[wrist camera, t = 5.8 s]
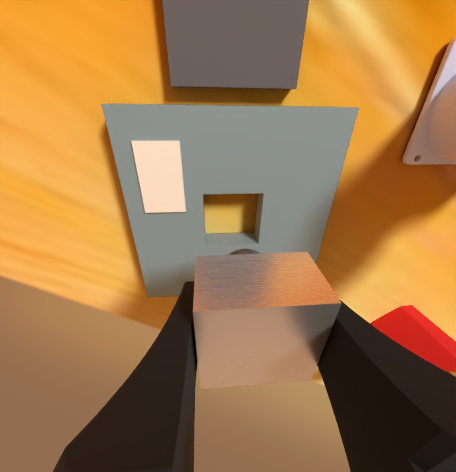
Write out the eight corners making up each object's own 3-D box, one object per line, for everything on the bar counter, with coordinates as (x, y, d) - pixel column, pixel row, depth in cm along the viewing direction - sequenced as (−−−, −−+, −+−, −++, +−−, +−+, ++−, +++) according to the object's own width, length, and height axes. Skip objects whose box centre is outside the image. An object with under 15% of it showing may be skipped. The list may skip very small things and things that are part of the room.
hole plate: (342, 106, 16) (360, 107, 14) (301, 275, 25) (309, 290, 23) (113, 103, 15) (100, 104, 13) (152, 282, 23) (147, 298, 21)
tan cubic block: (293, 229, 12) (341, 303, 8) (280, 297, 14) (310, 379, 10) (197, 232, 11) (192, 311, 7) (201, 301, 14) (200, 389, 10)
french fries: (415, 297, 28) (534, 410, 18) (425, 311, 30) (539, 421, 20) (355, 330, 31) (429, 445, 21) (367, 342, 33) (441, 453, 22)
